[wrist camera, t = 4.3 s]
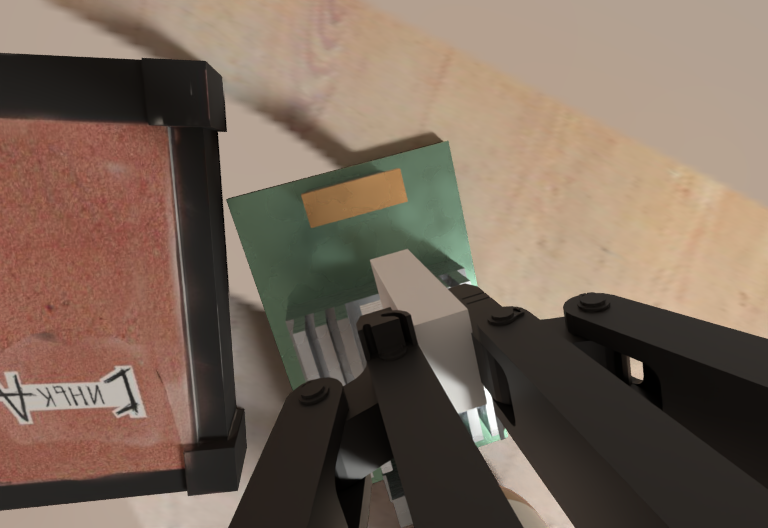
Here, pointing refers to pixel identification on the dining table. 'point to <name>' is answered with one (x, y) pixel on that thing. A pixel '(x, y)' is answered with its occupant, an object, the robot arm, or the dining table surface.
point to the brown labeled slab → (113, 282)
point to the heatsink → (353, 263)
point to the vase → (524, 510)
